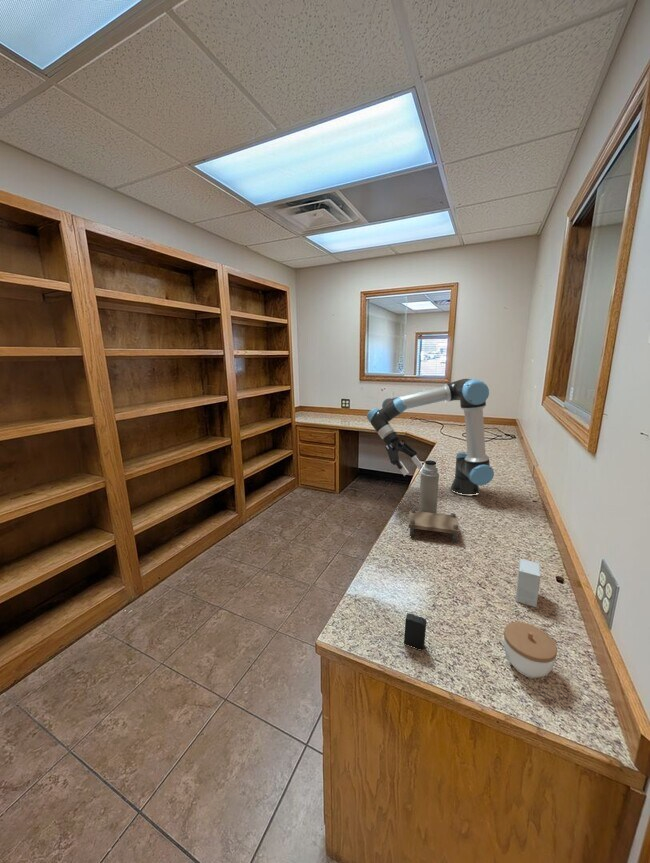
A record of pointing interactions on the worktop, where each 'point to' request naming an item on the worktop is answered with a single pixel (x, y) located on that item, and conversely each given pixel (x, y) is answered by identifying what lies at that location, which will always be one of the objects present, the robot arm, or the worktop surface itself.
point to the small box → (528, 582)
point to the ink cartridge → (415, 631)
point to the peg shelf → (434, 523)
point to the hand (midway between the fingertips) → (414, 470)
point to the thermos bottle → (429, 488)
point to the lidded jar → (529, 649)
